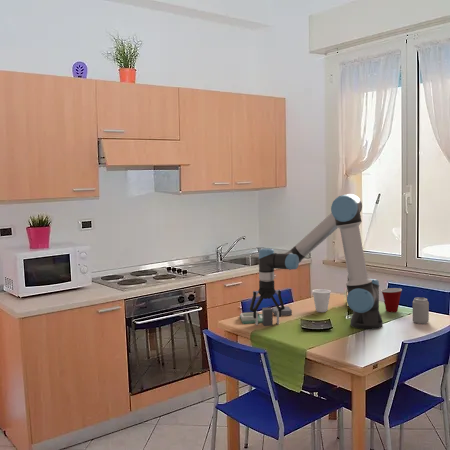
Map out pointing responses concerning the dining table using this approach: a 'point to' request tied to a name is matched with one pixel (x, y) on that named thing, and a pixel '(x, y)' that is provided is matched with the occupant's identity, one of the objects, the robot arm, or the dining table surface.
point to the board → (250, 318)
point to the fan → (282, 311)
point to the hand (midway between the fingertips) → (267, 324)
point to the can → (420, 310)
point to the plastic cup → (391, 299)
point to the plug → (267, 317)
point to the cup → (321, 299)
